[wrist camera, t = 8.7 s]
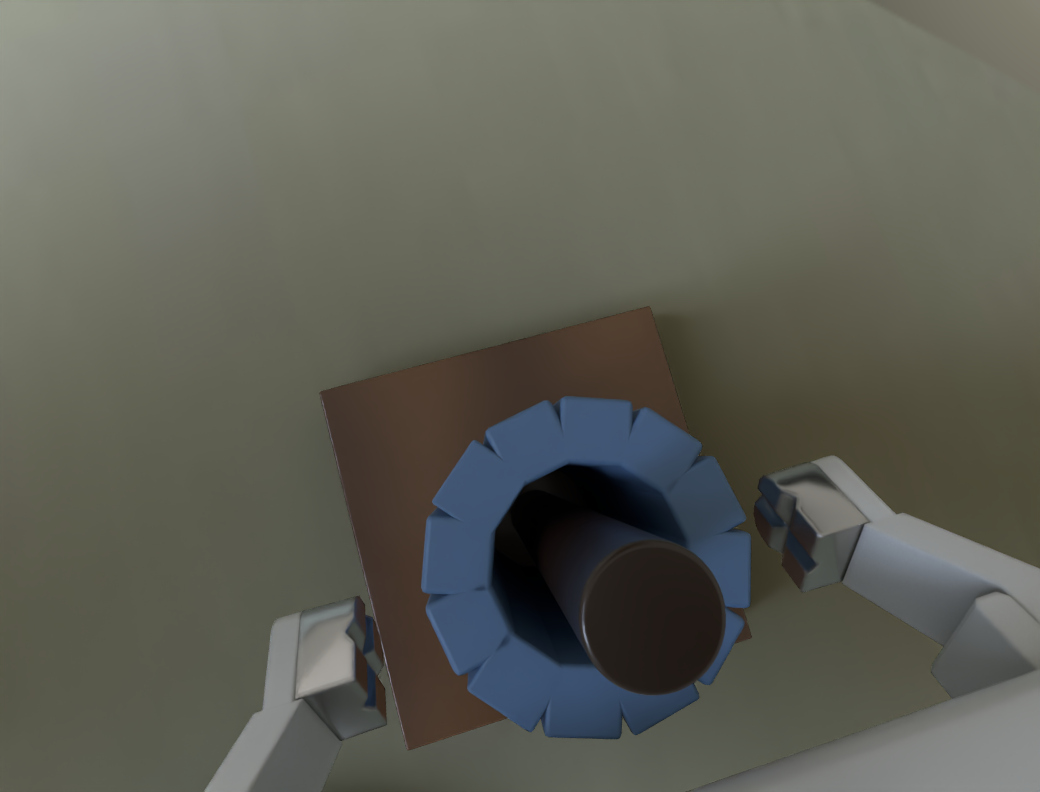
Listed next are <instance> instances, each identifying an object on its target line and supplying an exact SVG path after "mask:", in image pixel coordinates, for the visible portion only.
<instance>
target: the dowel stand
mask: <svg viewBox="0 0 1040 792" xmlns="http://www.w3.org/2000/svg"><path fill="white" fill-rule="evenodd" d="M565 396H575V397H590V398H604V399H619V400H628V401H630V402H631V403H632V405H633V411H634V410H637V409H640V408H643V407H647V408H650V409H652V410H653V411H655V412H656V413H658V414H659V415H661V416H662V417H664V418H665V419H667V420H668V421H670V422H671V423H673V424H674V425H676V426H677V427H679V428H680V429H682V430H683V431H685V432H686V433H688V434H689V431H688V428H687V425H686V421H685V418H684V415H683V412H682V408H681V405H680V402H679V399H678V395H677V392H676V389H675V386H674V382H673V379H672V376H671V373H670V369H669V366H668V363H667V360H666V357H665V353H664V350H663V347H662V344H661V340H660V337H659V334H658V331H657V327H656V324H655V321H654V318H653V314H652V311H651V308H650V307H649V306H647V307H644V308H640V309H636V310H632V311H628V312H624V313H620V314H616V315H613V316H609V317H605V318H601V319H597V320H593V321H589V322H586V323H582V324H578V325H574V326H570V327H566V328H562V329H559V330H555V331H551V332H547V333H543V334H539V335H535V336H531V337H528V338H524V339H520V340H516V341H512V342H508V343H504V344H501V345H497V346H493V347H489V348H485V349H481V350H477V351H474V352H470V353H466V354H462V355H458V356H454V357H450V358H446V359H443V360H439V361H435V362H431V363H427V364H423V365H419V366H416V367H412V368H408V369H404V370H400V371H396V372H392V373H389V374H385V375H381V376H377V377H373V378H369V379H365V380H361V381H358V382H354V383H350V384H346V385H342V386H338V387H334V388H331V389H327V390H323V391H320V398H321V402H322V406H323V410H324V414H325V418H326V422H327V426H328V430H329V434H330V439H331V443H332V447H333V451H334V455H335V459H336V463H337V467H338V471H339V475H340V479H341V484H342V488H343V492H344V496H345V500H346V504H347V508H348V512H349V516H350V520H351V525H352V529H353V533H354V537H355V541H356V545H357V549H358V553H359V557H360V561H361V566H362V570H363V574H364V578H365V582H366V586H367V590H368V594H369V598H370V602H371V606H372V611H373V615H374V619H375V623H376V625H377V628H378V631H379V634H380V638H381V643H382V649H383V656H384V660H385V664H386V668H387V672H388V676H389V680H390V684H391V688H392V692H393V697H394V701H395V705H396V709H397V713H398V717H399V721H400V725H401V729H402V733H403V738H404V742H405V746H406V749H407V750H412V749H415V748H418V747H421V746H424V745H427V744H430V743H433V742H436V741H439V740H442V739H445V738H448V737H451V736H454V735H457V734H461V733H464V732H467V731H470V730H473V729H476V728H479V727H482V726H485V725H488V724H491V723H494V722H497V721H500V720H503V719H506V718H507V717H506V716H504V715H503V714H501V713H500V712H498V711H497V710H495V709H494V708H492V707H491V706H489V705H488V704H486V703H485V702H483V701H482V700H480V699H479V698H477V697H476V696H474V695H473V694H471V693H470V692H469V691H468V689H467V685H468V673H466V674H464V675H460V676H458V675H457V674H456V673H455V672H454V671H453V669H452V667H451V665H450V662H449V660H448V658H447V656H446V654H445V652H444V650H443V648H442V645H441V643H440V641H439V639H438V637H437V635H436V633H435V631H434V628H433V626H432V624H431V622H430V620H429V618H428V616H427V614H426V605H427V602H428V600H429V597H430V594H426V593H424V592H423V591H422V588H421V581H422V569H423V556H424V543H425V530H426V520H427V518H428V516H429V515H430V514H431V513H432V512H433V511H434V510H435V509H436V508H437V506H435V505H434V504H433V503H432V501H433V498H434V497H435V495H436V494H437V492H438V491H439V489H440V488H441V486H442V485H443V483H444V482H445V480H446V479H447V477H448V476H449V474H450V473H451V471H452V470H453V468H454V467H455V465H456V464H457V463H458V461H459V460H460V458H461V457H462V455H463V454H464V452H465V451H466V449H467V448H468V446H469V445H470V443H471V442H472V441H473V440H477V441H478V442H480V443H481V444H483V442H484V436H485V431H486V430H487V429H488V428H489V427H491V426H493V425H495V424H497V423H499V422H501V421H503V420H505V419H507V418H509V417H511V416H513V415H515V414H517V413H519V412H522V411H524V410H526V409H528V408H530V407H532V406H534V405H536V404H538V403H540V402H542V401H546V400H548V401H550V402H551V403H552V405H554V404H555V403H556V402H557V401H558V400H560V399H561V398H562V397H565ZM689 435H690V434H689ZM495 546H496V549H497V551H499V552H500V553H502V554H503V555H505V556H506V557H508V558H509V559H511V560H512V561H514V562H515V563H517V564H518V565H520V566H535V567H537V568H538V570H539V571H540V573H541V575H542V577H543V578H544V580H545V582H546V584H547V585H548V587H549V589H550V591H551V592H552V594H553V596H554V598H555V599H556V601H557V603H558V605H559V606H560V608H561V610H562V612H563V613H564V615H565V617H566V619H567V620H568V622H569V624H570V626H571V627H572V629H573V631H574V632H575V634H576V636H577V638H578V639H579V641H580V643H581V645H582V646H583V648H584V650H585V652H586V653H587V655H588V657H589V659H590V660H591V662H592V663H593V665H594V666H595V667H596V668H597V670H598V671H599V672H600V673H601V674H602V675H603V676H604V677H605V678H607V679H608V680H609V681H610V682H612V683H613V684H615V685H616V686H618V687H620V688H622V689H624V690H626V691H629V692H632V693H635V694H641V695H650V696H657V695H666V694H670V693H674V692H677V691H680V690H682V689H684V688H686V687H688V686H690V685H691V684H693V683H694V682H696V681H697V680H698V679H700V678H701V677H702V676H703V675H704V674H705V673H706V672H707V671H708V669H709V668H710V667H711V665H712V664H713V663H714V661H715V659H716V657H717V656H718V654H719V651H720V649H721V646H722V643H723V639H724V635H725V628H726V611H725V603H724V599H723V594H722V592H721V589H720V586H719V584H718V582H717V580H716V578H715V576H714V575H713V573H712V572H711V570H710V569H709V567H708V566H707V565H706V564H705V563H704V562H703V561H702V560H701V559H700V558H699V557H698V556H697V555H696V554H694V553H693V552H691V551H690V550H688V549H687V548H685V547H683V546H681V545H679V544H676V543H674V542H671V541H669V540H666V539H664V538H661V537H659V536H656V535H653V534H651V533H648V532H646V531H643V530H641V529H638V528H636V527H633V526H631V525H628V524H626V523H623V522H621V521H618V520H615V519H613V518H610V517H608V516H605V515H603V514H600V513H598V512H595V511H593V510H590V509H588V508H586V503H585V501H584V499H583V497H582V495H581V493H580V491H579V489H578V487H577V485H576V483H575V481H574V480H573V479H571V478H570V477H568V476H567V475H565V474H564V473H562V472H560V471H559V470H555V471H553V472H551V473H549V474H547V475H545V476H543V477H541V478H539V479H537V480H535V481H533V482H532V483H530V484H528V485H526V486H524V487H523V489H522V490H521V492H520V494H519V495H518V497H517V498H516V500H515V501H514V503H513V504H512V506H511V507H510V509H509V511H508V512H507V514H506V515H505V517H504V518H503V520H502V521H501V523H500V524H499V526H498V527H497V529H496V531H495ZM727 608H729V609H730V610H732V611H733V612H735V613H736V614H738V615H739V616H741V617H742V618H743V620H744V621H745V624H744V627H743V629H742V631H741V633H740V634H739V636H738V638H737V640H736V642H735V643H738V642H741V641H744V640H747V639H750V638H752V636H751V632H750V629H749V626H748V623H747V619H746V616H745V613H744V610H743V608H731V607H727ZM735 643H734V644H735Z"/></svg>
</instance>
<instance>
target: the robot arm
mask: <svg viewBox="0 0 1040 792" xmlns="http://www.w3.org/2000/svg"><path fill="white" fill-rule="evenodd" d="M758 490H759V491H760V492H761V494H762V495H761V496H760V498H759V499H758V500H757V501H756V502H755V505H754V513H753V514H754V518H755V522H756V526H757V529H758V531H759V533H760V535H761V537H762V538H763V539H764V541H765V542H766V544H767V545H768V547H770V548H772V549H774V550H776V551H778V552H780V553H782V566H783V567H784V569H785V570H786V571H787V573H788V574H789V576H790V577H791V578H792V580H793V581H794V582H795V584H796V585H797V587H798V588H799V589H800V591H801V592H802V593H803V592H806V591H810V590H813V589H817V588H820V587H824V586H827V585H831V584H834V583H838V582H841V581H843V582H842V584H843V585H845V586H847V587H848V588H850V589H852V590H853V591H855V592H856V593H858V594H860V595H861V596H863V597H865V598H866V599H868V600H869V601H871V602H873V603H874V604H876V605H878V606H879V607H881V608H882V609H884V610H886V611H887V612H889V613H890V614H892V615H894V616H895V617H897V618H899V619H900V620H902V621H903V622H905V623H907V624H908V625H910V626H912V627H913V628H915V629H916V630H918V631H920V632H921V633H923V634H925V635H926V636H928V637H929V638H931V639H933V640H934V641H936V642H938V643H939V644H941V645H942V646H944V647H943V648H942V650H941V651H940V653H939V654H938V656H937V657H936V659H935V660H934V662H933V663H932V668H931V673H932V674H933V675H934V677H935V678H936V679H937V680H938V682H939V683H940V684H941V685H942V687H943V688H944V689H945V690H946V692H947V693H948V694H949V695H950V697H951V698H952V699H951V700H948V701H945V702H942V703H939V704H936V705H933V706H930V707H928V708H925V709H922V710H919V711H916V712H913V713H910V714H908V715H905V716H902V717H899V718H896V719H893V720H890V721H887V722H885V723H882V724H879V725H876V726H873V727H870V728H867V729H864V730H862V731H859V732H856V733H853V734H850V735H847V736H844V737H841V738H839V739H836V740H833V741H830V742H827V743H824V744H821V745H818V746H816V747H813V748H810V749H807V750H804V751H801V752H798V753H796V754H793V755H790V756H787V757H784V758H781V759H778V760H775V761H773V762H770V763H767V764H764V765H761V766H758V767H755V768H752V769H750V770H747V771H744V772H741V773H738V774H735V775H732V776H729V777H727V778H724V779H721V780H718V781H715V782H712V783H709V784H707V785H704V786H701V787H698V788H695V789H692V790H689V791H686V792H1040V568H1037V567H1035V566H1032V565H1030V564H1027V563H1025V562H1023V561H1020V560H1018V559H1015V558H1013V557H1010V556H1008V555H1006V554H1003V553H1001V552H998V551H996V550H993V549H991V548H989V547H986V546H984V545H981V544H979V543H976V542H974V541H972V540H969V539H967V538H964V537H962V536H959V535H957V534H955V533H952V532H950V531H947V530H945V529H942V528H940V527H938V526H935V525H933V524H930V523H928V522H925V521H923V520H921V519H918V518H916V517H913V516H911V515H908V514H906V513H904V512H903V513H899V514H896V513H895V512H894V511H893V510H892V509H891V508H890V507H889V506H888V505H887V504H886V503H885V502H884V501H883V500H882V499H881V498H880V497H879V496H878V495H877V494H876V493H875V492H874V491H873V490H872V489H871V488H870V487H869V486H868V485H867V484H866V483H865V482H864V481H863V480H861V479H860V478H859V477H858V476H857V475H856V474H855V473H854V472H853V471H852V470H851V469H850V468H849V467H848V466H847V465H846V464H845V463H844V462H843V461H842V460H841V459H840V458H838V457H836V456H834V455H832V456H827V457H824V458H821V459H817V460H814V461H811V462H805V463H802V464H799V465H795V466H792V467H789V468H786V469H783V470H779V471H776V472H773V473H770V474H767V475H763V476H762V477H761V478H760V480H759V483H758ZM383 666H384V660H383V649H382V643H381V638H380V634H379V631H378V628H377V625H376V623H375V621H374V619H373V618H372V617H370V616H367V615H365V604H364V602H363V601H362V599H361V598H360V596H355V597H352V598H348V599H344V600H341V601H337V602H334V603H330V604H326V605H323V606H319V607H316V608H312V609H308V610H304V611H300V612H297V613H294V614H290V615H287V616H283V617H280V618H277V619H275V622H274V624H273V627H272V629H271V637H270V646H269V655H268V663H267V672H266V681H265V690H264V699H263V708H262V711H259V712H256V713H254V714H253V715H252V717H251V719H250V720H249V722H248V723H247V725H246V726H245V728H244V730H243V731H242V733H241V734H240V736H239V737H238V739H237V740H236V742H235V744H234V745H233V747H232V748H231V750H230V751H229V753H228V755H227V756H226V758H225V759H224V761H223V762H222V764H221V766H220V767H219V769H218V770H217V772H216V773H215V775H214V777H213V778H212V780H211V781H210V783H209V784H208V786H207V787H206V789H205V791H204V792H322V789H323V787H324V785H325V783H326V780H327V778H328V776H329V773H330V771H331V769H332V766H333V764H334V762H335V759H336V757H337V755H338V752H339V750H340V748H341V745H342V742H341V741H342V740H345V739H348V738H351V737H354V736H357V735H359V734H362V733H365V732H368V731H371V730H374V729H377V728H380V727H382V726H385V725H387V717H386V696H385V688H384V686H383V684H382V683H381V681H380V680H379V678H378V675H379V673H380V671H381V669H382V668H383Z"/></svg>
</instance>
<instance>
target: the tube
mask: <svg viewBox="0 0 1040 792" xmlns="http://www.w3.org/2000/svg"><path fill="white" fill-rule="evenodd" d="M701 449H702V444H701V443H700V441H698V440H697V439H695V438H694V437H692V436H691V435H689V434H688V433H686V432H685V431H683V430H682V429H680V428H679V427H677V426H676V425H674V424H673V423H671V422H670V421H668V420H667V419H665V418H664V417H662V416H661V415H659V414H658V413H656V412H655V411H653V410H652V409H650V408H647V407H643V408H640V409H637V410H634V411H633V405H632V403H631V402H630V401H628V400H619V399H604V398H590V397H575V396H565V397H562V398H561V399H560V400H558V401H557V402H556V403H555V404H554V405H552V403H551V402H550V401H548V400H546V401H542V402H540V403H538V404H536V405H534V406H532V407H530V408H528V409H526V410H524V411H522V412H519V413H517V414H515V415H513V416H511V417H509V418H507V419H505V420H503V421H501V422H499V423H497V424H495V425H493V426H491V427H489V428H488V429H487V430H486V431H485V436H484V442H483V444H481V443H480V442H478V441H477V440H473V441H472V442H471V443H470V445H469V446H468V448H467V449H466V451H465V452H464V454H463V455H462V457H461V458H460V460H459V461H458V463H457V464H456V465H455V467H454V468H453V470H452V471H451V473H450V474H449V476H448V477H447V479H446V480H445V482H444V483H443V485H442V486H441V488H440V489H439V491H438V492H437V494H436V495H435V497H434V498H433V501H432V503H433V504H434V505H435V506H437V508H436V509H435V510H434V511H433V512H432V513H431V514H430V515H429V516H428V518H427V520H426V530H425V543H424V556H423V569H422V581H421V588H422V591H423V592H424V593H426V594H430V597H429V600H428V602H427V605H426V614H427V616H428V618H429V620H430V622H431V624H432V626H433V628H434V631H435V633H436V635H437V637H438V639H439V641H440V643H441V645H442V648H443V650H444V652H445V654H446V656H447V658H448V660H449V662H450V665H451V667H452V669H453V671H454V672H455V673H456V674H457V675H458V676H460V675H464V674H466V673H468V685H467V689H468V691H469V692H470V693H471V694H473V695H474V696H476V697H477V698H479V699H480V700H482V701H483V702H485V703H486V704H488V705H489V706H491V707H492V708H494V709H495V710H497V711H498V712H500V713H501V714H503V715H504V716H506V717H507V718H509V719H510V720H512V721H513V722H515V723H516V724H518V725H519V726H521V727H522V728H524V729H525V730H527V731H529V732H532V731H533V730H534V729H535V727H536V725H537V724H538V722H539V720H540V719H541V721H542V725H543V729H544V733H545V735H546V736H548V737H558V738H592V739H619V738H620V736H621V733H622V716H623V718H624V720H625V721H626V723H627V725H628V727H629V728H630V730H631V732H632V733H633V734H634V735H638V734H640V733H642V732H643V731H645V730H647V729H648V728H650V727H652V726H654V725H655V724H657V723H659V722H660V721H662V720H664V719H666V718H667V717H669V716H671V715H672V714H674V713H676V712H678V711H679V710H681V709H683V708H684V707H686V706H688V705H690V704H691V703H693V702H695V701H696V700H698V699H699V693H698V691H697V689H696V687H695V685H694V683H693V684H691V685H690V686H688V687H686V688H684V689H682V690H680V691H677V692H674V693H670V694H666V695H657V696H650V695H641V694H635V693H632V692H629V691H626V690H624V689H622V688H620V687H618V686H616V685H615V684H613V683H612V682H610V681H609V680H608V679H607V678H605V677H604V676H603V675H602V674H601V673H600V672H599V671H598V670H597V668H596V667H595V666H594V665H593V663H592V662H591V660H590V659H589V657H588V655H587V653H586V652H585V650H584V648H583V646H582V645H581V643H580V641H579V639H578V638H577V636H576V634H575V632H574V631H573V629H572V627H571V626H570V624H569V622H568V620H567V619H566V617H565V615H564V613H563V612H562V610H561V608H560V606H559V605H558V603H557V601H556V599H555V598H554V596H553V594H552V592H551V591H550V589H549V587H548V585H547V584H546V582H545V580H544V578H543V577H542V575H541V573H540V571H539V570H538V568H537V567H535V566H520V565H518V564H517V563H515V562H514V561H512V560H511V559H509V558H508V557H506V556H505V555H503V554H502V553H500V552H499V551H497V549H496V546H495V531H496V529H497V527H498V526H499V524H500V523H501V521H502V520H503V518H504V517H505V515H506V514H507V512H508V511H509V509H510V507H511V506H512V504H513V503H514V501H515V500H516V498H517V497H518V495H519V494H520V492H521V490H522V489H523V487H524V486H526V485H528V484H530V483H532V482H533V481H535V480H537V479H539V478H541V477H543V476H545V475H547V474H549V473H551V472H553V471H555V470H559V471H560V472H562V473H564V474H565V475H567V476H568V477H570V478H571V479H573V480H574V481H575V483H576V485H577V487H578V489H579V491H580V493H581V495H582V497H583V499H584V501H585V503H586V508H588V509H590V510H593V511H595V512H598V513H600V514H603V515H605V516H608V517H610V518H613V519H615V520H618V521H621V522H623V523H626V524H628V525H631V526H633V527H636V528H638V529H641V530H643V531H646V532H648V533H651V534H653V535H656V536H659V537H661V538H664V539H666V540H669V541H671V542H674V543H676V544H679V545H681V546H683V547H685V548H687V549H688V550H690V551H691V552H693V553H694V554H696V555H697V556H698V557H699V558H700V559H701V560H702V561H703V562H704V563H705V564H706V565H707V566H708V567H709V569H710V570H711V572H712V573H713V575H714V576H715V578H716V580H717V582H718V584H719V586H720V589H721V592H722V594H723V599H724V603H725V611H726V628H725V635H724V639H723V643H722V646H721V649H720V651H719V654H718V656H717V657H716V659H715V661H714V663H713V664H712V665H711V667H710V668H709V669H708V671H707V672H706V673H705V674H704V675H703V676H702V677H701V678H700V679H698V681H700V682H701V683H703V684H705V685H710V684H712V683H713V681H714V679H715V677H716V675H717V674H718V672H719V670H720V668H721V666H722V665H723V663H724V661H725V659H726V658H727V656H728V654H729V652H730V650H731V649H732V647H733V645H734V643H735V642H736V640H737V638H738V636H739V634H740V633H741V631H742V629H743V627H744V624H745V621H744V620H743V618H742V617H741V616H739V615H738V614H736V613H735V612H733V611H732V610H730V609H729V608H727V607H731V608H747V607H749V606H750V599H751V536H750V534H749V533H747V532H745V531H741V530H737V529H733V528H734V527H736V526H738V525H739V524H741V523H743V522H744V521H745V520H746V515H745V513H744V511H743V510H742V508H741V506H740V504H739V502H738V500H737V498H736V496H735V494H734V492H733V491H732V489H731V487H730V485H729V483H728V481H727V479H726V477H725V475H724V473H723V472H722V470H721V468H720V466H719V464H718V462H717V460H716V458H714V457H713V456H698V455H699V453H700V451H701Z"/></svg>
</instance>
